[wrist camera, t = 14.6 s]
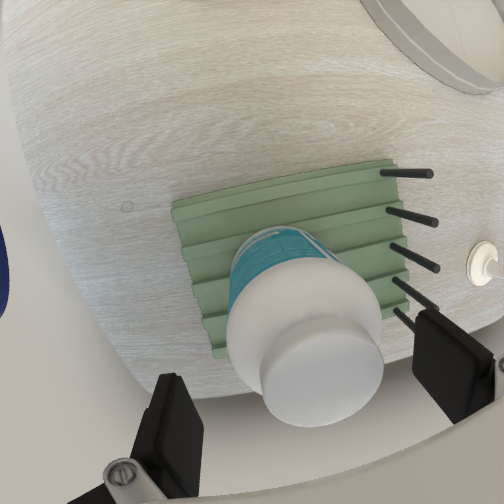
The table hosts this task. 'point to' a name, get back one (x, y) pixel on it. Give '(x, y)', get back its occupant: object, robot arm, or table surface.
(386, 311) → the rack
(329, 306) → the pill bottle
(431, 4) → the dish
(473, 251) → the chess piece
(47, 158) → the table surface
